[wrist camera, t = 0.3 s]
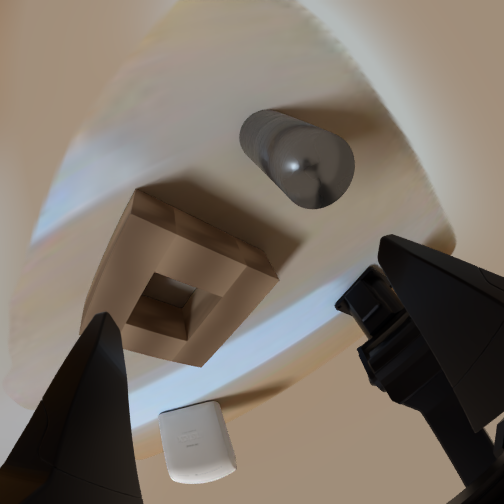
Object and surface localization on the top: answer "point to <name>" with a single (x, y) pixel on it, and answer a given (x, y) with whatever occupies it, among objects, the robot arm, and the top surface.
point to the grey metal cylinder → (299, 157)
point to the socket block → (183, 270)
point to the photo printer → (197, 444)
